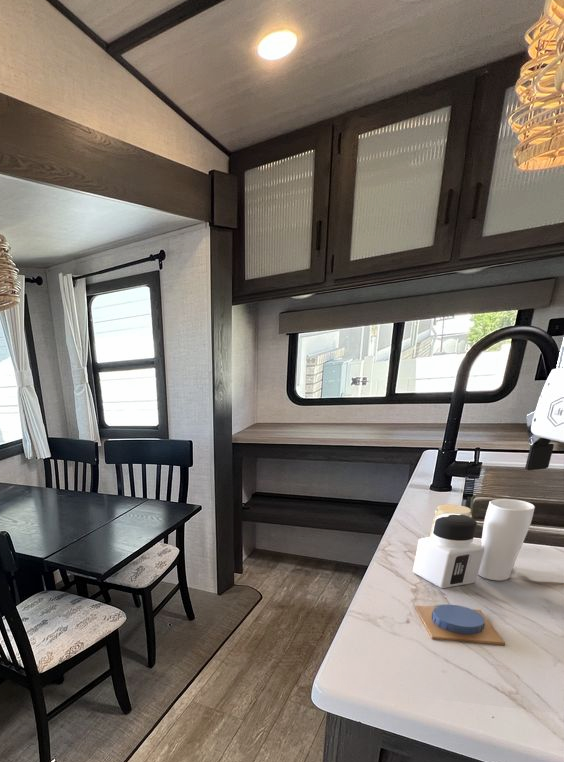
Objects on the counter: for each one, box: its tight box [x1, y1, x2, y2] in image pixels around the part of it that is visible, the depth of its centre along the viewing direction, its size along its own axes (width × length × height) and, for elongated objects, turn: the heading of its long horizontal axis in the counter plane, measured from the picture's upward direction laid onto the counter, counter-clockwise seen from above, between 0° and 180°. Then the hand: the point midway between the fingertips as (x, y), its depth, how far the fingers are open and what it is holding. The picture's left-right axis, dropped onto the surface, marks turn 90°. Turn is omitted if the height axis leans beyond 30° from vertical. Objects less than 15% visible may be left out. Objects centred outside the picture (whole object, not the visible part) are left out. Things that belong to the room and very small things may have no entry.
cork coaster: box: [414, 605, 506, 646], centre depth 79 cm, size 10×10×1 cm
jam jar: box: [429, 503, 473, 537], centre depth 104 cm, size 7×7×9 cm
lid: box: [432, 604, 485, 634], centre depth 79 cm, size 7×7×1 cm
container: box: [412, 514, 485, 589], centre depth 91 cm, size 8×8×13 cm
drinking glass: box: [478, 498, 536, 582], centre depth 90 cm, size 7×7×15 cm
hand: (561, 476), depth 72 cm, fingers open, 9 cm apart
